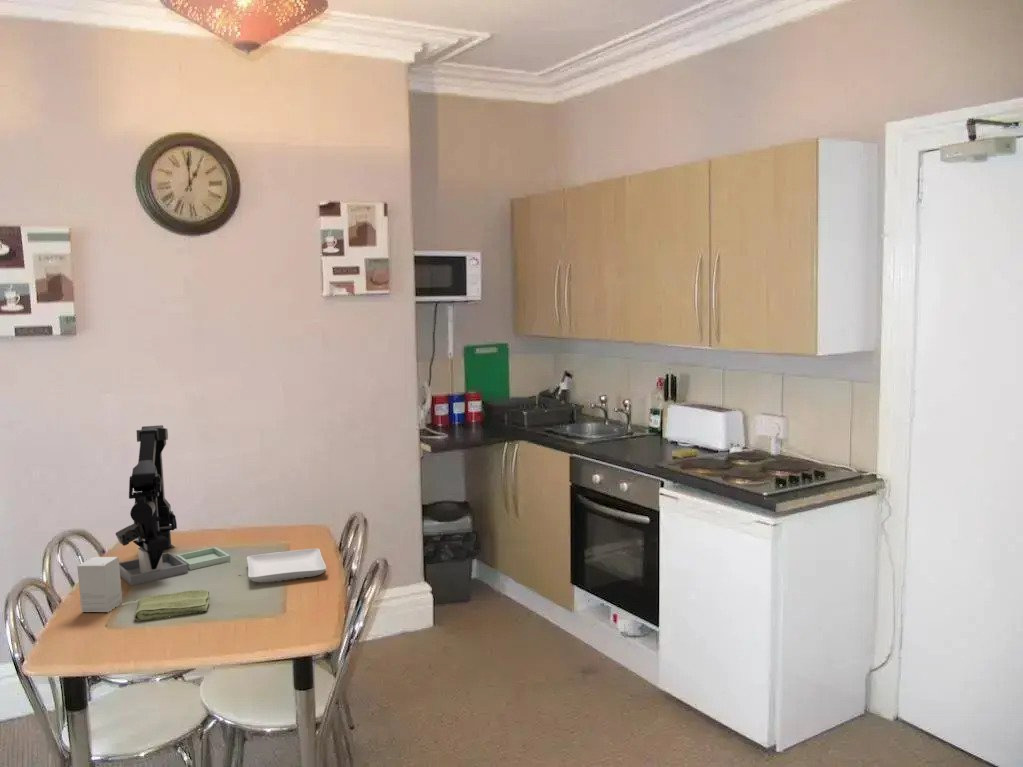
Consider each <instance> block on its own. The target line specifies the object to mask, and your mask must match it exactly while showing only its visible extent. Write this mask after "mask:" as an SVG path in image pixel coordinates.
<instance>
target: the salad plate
mask: <svg viewBox="0 0 1023 767" xmlns="http://www.w3.org/2000/svg"><path fill="white" fill-rule="evenodd" d="M246 561H247V578H248V579H249V580H250V581H252V582H256V583H262V582H268V583H274V582H275V581H277V582H283V581H282V580H285V581H289V580H288V579H293V580H296V579H295V578H301V579H305V578H304V577H308V578H312V577H317V576H320V575H323V573H324V572H325V571H326V570H327V565H326V563H325V561H324V559H323V556H322V553H321V550H320V548H315V547H314V548H308V549H297V550H296V549H295V550H288V551H280V552H279V551H276V552H270V553H268V552H267V553H261V554H254V555H253V554H252V555H248V556H247V557H246ZM275 583H276V582H275Z"/></svg>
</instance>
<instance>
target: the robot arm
mask: <svg viewBox="0 0 1023 767" xmlns="http://www.w3.org/2000/svg"><path fill="white" fill-rule="evenodd" d="M168 439H169V432H168V428H165V427H164V425H161V424H160V425H147V426H141V429H137V430H136V442H138V443H139V442H140V443H139V451H138V463H137V464H136V465H135V466H134V467H133V468H132V473H131V475H130V476H129V481H128V483H129V485H128V499H129V500H130V499H131V500H133V499H134V505H133V506H132V508H131V509H130V518H131V520H132V521H133V523H132V524H129V525H128V526H125V527H124V528H121V529H120V530H118V531H117V532H115V536H116V538H117V541H118V542H119V544H121V545H122V546H127V545H129V544H130V543H134V544H135V545H136V546H138V548H142V547H144V548H142V549H143V550H144V551H146V552H147V553H148V556H149V560H150V564H151V568H152V569H156V568H157V565H158V563H159V560H160V558H161V556H162V554H163V553H164V552H165V550H170V549H174V548H176V546H174V544H172V536H171V534H172V532H171V531H175V530H177V529H178V524H177V518H176V515H175V514H174V511H172V508H171V503H169V501H168V500H167V499H166V498H165V482H164V471H163V470H164V469H163V456H162V453H163V450H164V449H165V446H166V445H167V440H168Z"/></svg>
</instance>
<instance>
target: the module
mask: <svg viewBox="0 0 1023 767" xmlns="http://www.w3.org/2000/svg"><path fill="white" fill-rule="evenodd" d="M142 548H144V547H142ZM142 548H140V547H138V548H137V550H138V552H137V553H138V559H139V566H140V572H141V573H146V572H151V571H155V570H160V569H163V563H162V556H161V558H160V560H159V563H158V565H157V568H156V569H152V568H151V564H150V560H149V556H148V553H147V552H146V551H144V550H143V549H142Z"/></svg>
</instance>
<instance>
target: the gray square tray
mask: <svg viewBox="0 0 1023 767" xmlns="http://www.w3.org/2000/svg"><path fill="white" fill-rule="evenodd" d="M162 563H163V569H160V570H155V571H151V572H146V573H141V572H140V566H139V558H135V559H131V560H126V561H125V560H124V561H121V562H120V561H119V568H120V578H122V579H123V580H124V581H125V582H127V583H128V584H129V586H134V585H139V584H143V583H147V582H152V581H156V580H161V579H166V578H170V577H174V576H178V575H179V576H180V575H182V574H187V573H189V569H188V565H187V564H186V563H185V562H183V561H182V560H181V559H179V558H178V557H176V554H173V553H172V552H170V551H169V552H163V553H162Z"/></svg>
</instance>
